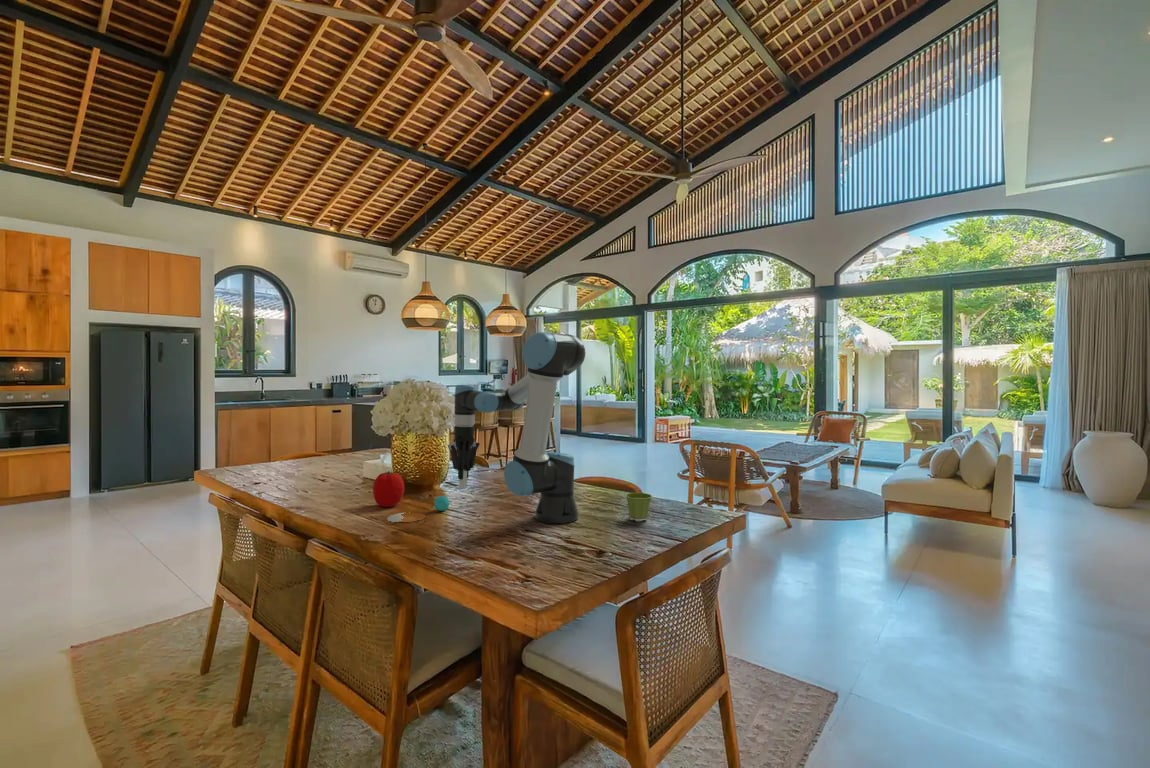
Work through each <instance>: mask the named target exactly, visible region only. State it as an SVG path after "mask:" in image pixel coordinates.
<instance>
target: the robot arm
mask: <svg viewBox="0 0 1150 768" xmlns="http://www.w3.org/2000/svg"><path fill="white" fill-rule="evenodd" d="M521 358H522V359H523V363H524V365H525V366H526V367H527V370H526V371H527V372H526V373H527V374H526V375H525V376H524V377H522V378H521V379H519V380H517V382H515V383H513V384H512V385H511V386H509V388H507V389H506V390H505V389H504V390H493V391H492V390H490V391H489V390H488V391H486V390H485V391H483V390H482V391H481V390H476V386H475V385H474V384H457V385H456V386H455V390H454V421H453V424H454V428H453V429H454V430H453V435H454V439H453V442H452V443H451V444H448V445H447V448H448V449H449V453H450V456H451V462H452V467H453V469H454V470H457V478H458V480H459V484H458V485H459V486H458V487H459V488H461V489H467V488H468V486H467V485H468V479H469V474H470V473H469V472H470V471H471V470H472V469H473V468H474V467H475V466H474V465H475V460H476V456H477V453H478V452H477V451H478V448H479V446H480V442H476V441H475V438H474V436H475V426H474V425H476V423H475V422H476V421H475V420H476V418H475V417H476V412H479V413H482V414H485V413H487V414H488V413H489V414H490V413H493V412H505V411H508V412H509V411H511V412H514V411H519V410H520V409H522V408H523V406H524V404H525V402H526V401H527V402H526V407H525V413H524V420H523V427H522V434H521V440H520V445H519V446H520V447H519V448H518V449H516V450H515V451H514V455H513V460H510V461H509V462H508V463H507V464H505V466H504V469H503V479H504V482H505V485H506V486H507V489H508V490H509V492H511V493H512V494H513V495H515V496H516V497H525V496H526V497H527V496H528V497H529V496H531V495H535V494H540V496H539V499H538V502H537V506H536V509H535V512H534V516H535V517H534V519H535V518H536V519H537V521H538V522H540V521H541V522H540V523H544V522H547V523H546V524H553V523H561V524H568V523H567V522H570V523H573V522H572V521H574V522H576V521H578V520H579V511H578V507H577V505H576V500H575V496H574V495H575V493H574V490H575V489H574V487H575V486H574V485H575V467H576V466H575V461H574V456H573V455H572V454H568V453H563V452H557V451H556V452H554V451H547V447H548V441H549V433H550V428H551V421H552V415H553V409H554V403H555V397H556V392H557V391H556V390H557V387H558V386H557V385H558V382H559V381H560V380H561V379H562V378H564V376H565V377H566V376H569V375H570V374H572V373H574V372H575V371H576V370H577V369H579V368H580V367H581V366H582V364H583V363H584V361H585V358H586V348H585V344H584V343H583V342H582V340H581V339H579V337H577V336H575V335H572V334H569V333H568V334H563V333H557V332H556V333H555V332H550V331H549V332H548V331H542V332H535V333H533V334H531V335H530V336H529V337H528V338H527V339H526V340H525V343H524V344H523V347H522V357H521ZM536 519H535V520H536ZM575 520H576V521H575Z"/></svg>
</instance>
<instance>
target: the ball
mask: <svg viewBox="0 0 1150 768" xmlns="http://www.w3.org/2000/svg"><path fill="white" fill-rule="evenodd" d="M450 503H451V502H450V499H449V498H448V496H446V495H439V496H437V497H435V499H434V502H433V506H434V508H435V509H436V510H437V511H440V512H444V511H446V510H448V508H449V507H450Z"/></svg>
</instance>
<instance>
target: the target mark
mask: <svg viewBox="0 0 1150 768" xmlns="http://www.w3.org/2000/svg"><path fill="white" fill-rule="evenodd" d="M410 512H411V511H410ZM410 512H409V513H410ZM404 513H405V512H399V513H395V514H391V515H388V516H387V517H386V521H387V522H390V521H391V522H390V523H394V522H399V521H402V520H401V519H403V518H404V517H403V516H402V515H401V514H404Z"/></svg>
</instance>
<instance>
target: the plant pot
mask: <svg viewBox="0 0 1150 768" xmlns="http://www.w3.org/2000/svg"><path fill="white" fill-rule="evenodd" d="M624 496H625V499H626V501H627V508H628V514H629V515H628V516H629V519H630V518H633V519H645V518H647V517H649V510H650V503H651V500H652V498H653V495H652V494H650V493H645V492H629V493H626V494H625V495H624ZM647 519H648V518H647Z"/></svg>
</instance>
